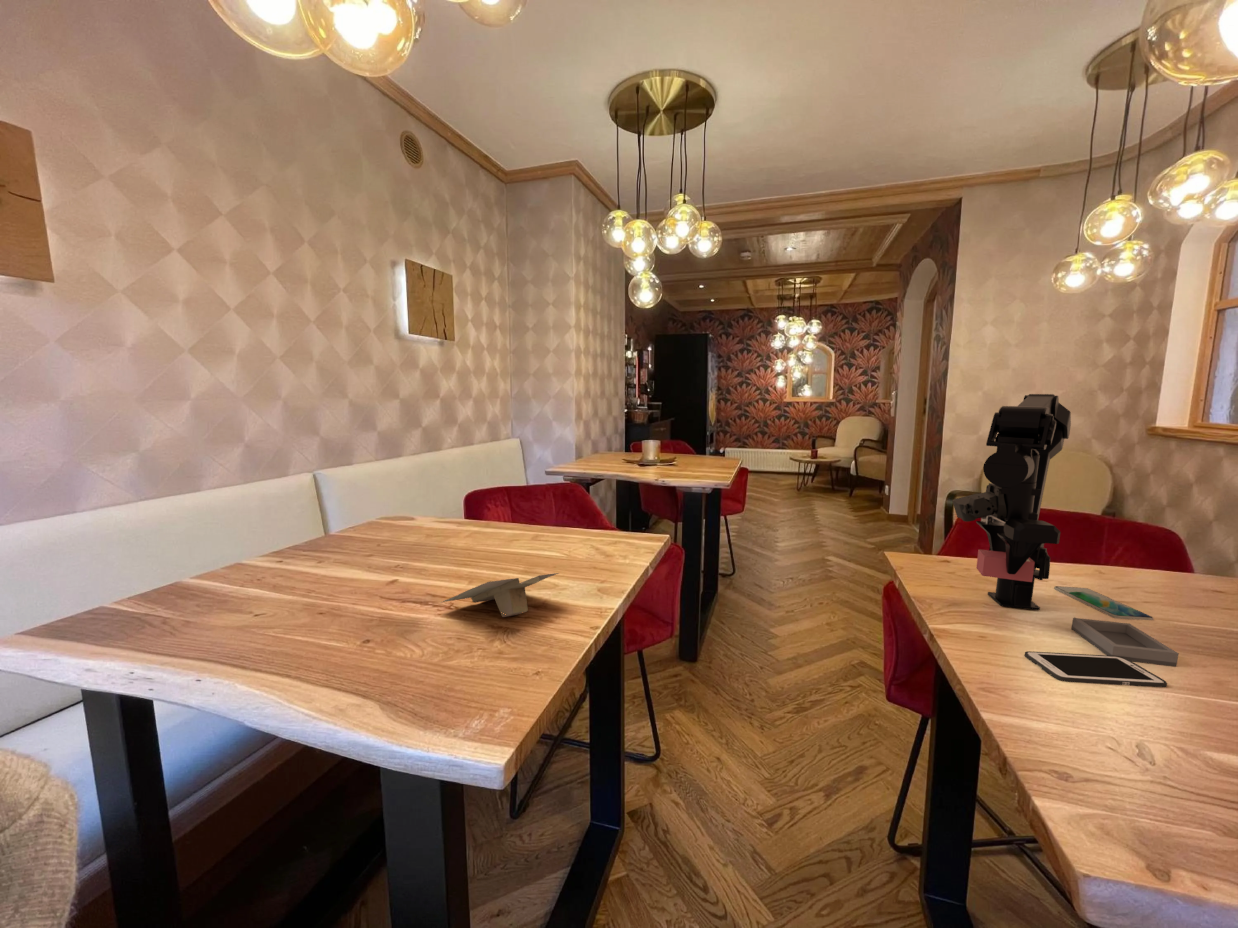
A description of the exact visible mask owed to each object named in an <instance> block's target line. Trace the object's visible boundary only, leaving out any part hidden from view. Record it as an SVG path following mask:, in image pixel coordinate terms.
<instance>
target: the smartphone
mask: <svg viewBox="0 0 1238 928" xmlns="http://www.w3.org/2000/svg"><path fill="white" fill-rule="evenodd" d="M1053 589H1054V590H1055V591H1057V592H1059V593H1061V594H1064V595H1065V596H1067V597H1069V598H1071V599H1074V600H1076V601H1077V602H1080V603H1081V604H1084V605H1086V606H1088V607H1090V608H1092V609H1094V610H1097V611H1099V612H1101V613H1103V614H1105V615H1107V616H1109V617H1111V618H1114V619H1120V620H1137V621H1138V620H1141V621H1143V620H1144V621H1154V619H1155V618H1154V617H1153V616H1152V615H1149V614H1147V613H1144V611H1143V612H1142V611H1140V610H1137V609H1135V608H1133V607H1131V606H1128V605H1127V604H1124V603H1122V602H1120V601H1117V600H1115V599H1113V598H1111V597H1109V596H1106V595H1104V594H1102V593H1099V592H1097V591H1095V590H1093V589H1091V588H1089V587H1079V586H1074V587H1073V586H1059V585H1057V586H1054V587H1053Z"/></svg>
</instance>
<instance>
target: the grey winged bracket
mask: <svg viewBox="0 0 1238 928" xmlns="http://www.w3.org/2000/svg"><path fill="white" fill-rule="evenodd" d="M558 574H560V572H558V573H557V572H556V573H555V572H554V573H548V574H540V575H537V576H534V577H532V578H529V579H526V580H524V581H522V582H520V579H519V578H518V577H516V578H508V579H500V580H499V579H498V580H494V581H487V582H485V583H481V584H479V585H476V586H475V587H472V588H470V589H468V590H465V591H463V592H460V593H459V594H457V595H455V596H454V595H453V596H452V597H450V598H447V599H445V600H443V601H440V603H445V602H452V601H456V600H457V601H458V600H466V599H469V598H470V599H471V601H472V603H475V604H476V603H481V602H489V601H493V600H495V603H496V605H497V608H498V610H499V613H500V614H501V617H502V618H506V617H513V616H517V615H520V614H523V613H526V612H528V603H527V602H528V601H527V593H526V587H529V586H530V587H531V586H532V585H534V584H537V583H539V582H540V581H543V580H545V579H548V578H551V577H553V576H555V575H558ZM501 612H502V613H501ZM522 612H523V613H522ZM503 613H504V614H503ZM505 614H506V615H505Z"/></svg>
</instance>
